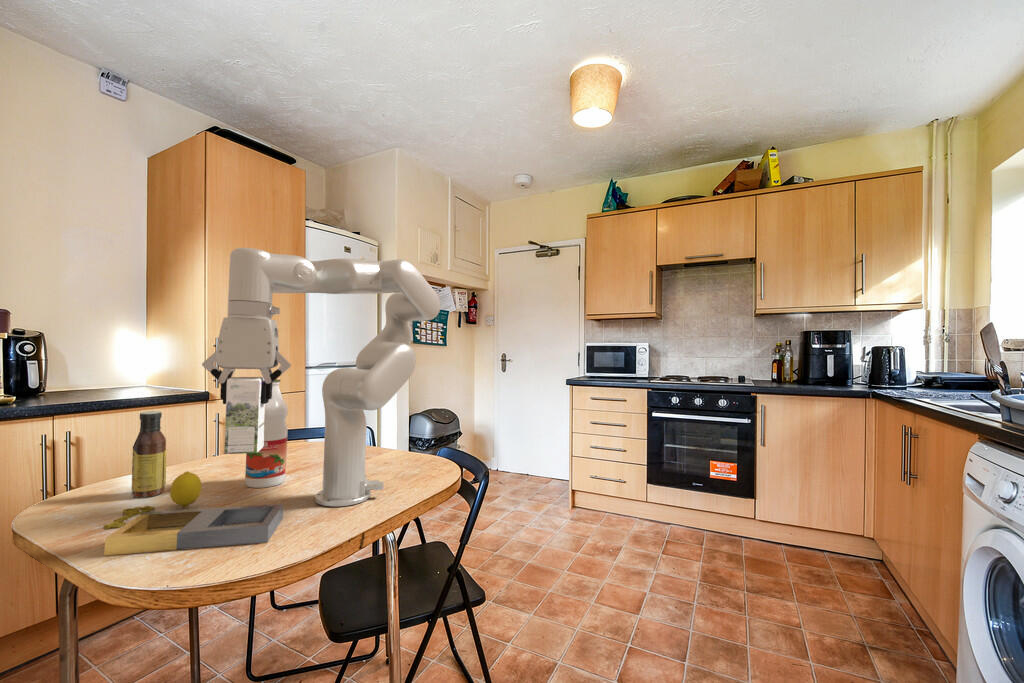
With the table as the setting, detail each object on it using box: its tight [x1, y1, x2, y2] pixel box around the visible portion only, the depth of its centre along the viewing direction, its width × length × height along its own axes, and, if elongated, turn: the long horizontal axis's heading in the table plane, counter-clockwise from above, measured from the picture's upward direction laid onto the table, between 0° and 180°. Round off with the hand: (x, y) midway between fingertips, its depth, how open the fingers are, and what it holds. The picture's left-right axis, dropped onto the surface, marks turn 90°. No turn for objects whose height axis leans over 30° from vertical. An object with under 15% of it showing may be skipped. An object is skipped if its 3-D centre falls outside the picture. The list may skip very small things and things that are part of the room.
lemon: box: [169, 471, 202, 508], centre depth 96 cm, size 6×6×8 cm
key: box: [103, 505, 155, 530], centre depth 90 cm, size 12×1×5 cm
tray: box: [103, 503, 284, 557], centre depth 83 cm, size 25×12×3 cm, turn 106°
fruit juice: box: [244, 377, 289, 489], centre depth 115 cm, size 9×9×28 cm
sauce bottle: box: [131, 410, 167, 498], centre depth 103 cm, size 6×6×20 cm
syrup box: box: [223, 376, 265, 455], centre depth 85 cm, size 6×6×14 cm
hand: (246, 402), depth 85 cm, fingers closed on syrup box, 5 cm apart
